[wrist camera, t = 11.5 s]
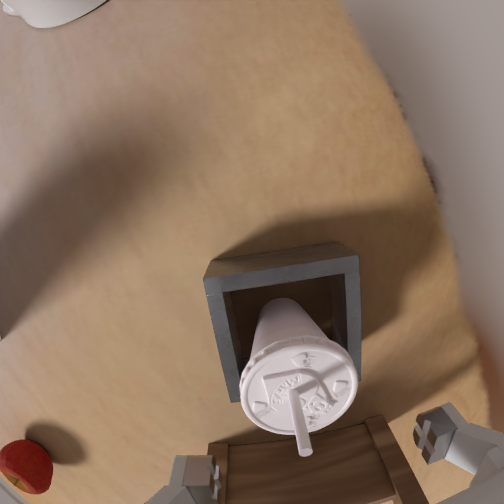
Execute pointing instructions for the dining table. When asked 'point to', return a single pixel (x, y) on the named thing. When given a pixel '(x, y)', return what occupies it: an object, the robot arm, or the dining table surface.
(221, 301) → the socket
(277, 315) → the smoothie
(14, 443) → the apple
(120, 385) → the dining table surface
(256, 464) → the green-topped frame
